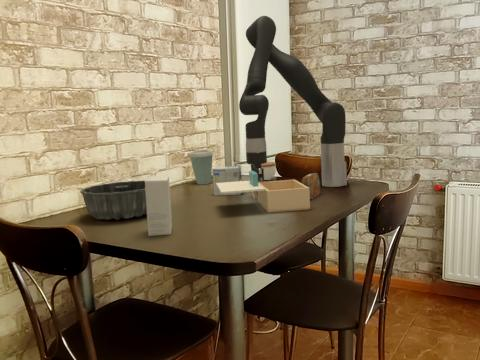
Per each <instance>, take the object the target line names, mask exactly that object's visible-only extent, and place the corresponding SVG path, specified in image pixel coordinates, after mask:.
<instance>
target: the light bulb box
mask: <svg viewBox="0 0 480 360" xmlns="http://www.w3.org/2000/svg"><path fill="white" fill-rule="evenodd" d="M241 169H242V167H241V165H231V166H227V165H226V166H214V167H212V181H213V182H212V184H213V196H215V197H216V196H240V195H241V194H242V193H243V192H240V193H227V194H221V192H220V191H219V189H218V187H217V185H216V183H223V182H236V181H243V180H242V171H241Z"/></svg>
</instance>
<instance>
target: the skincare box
mask: <svg viewBox="0 0 480 360" xmlns="http://www.w3.org/2000/svg"><path fill="white" fill-rule="evenodd" d="M144 181H145V192H146V207H147V215H146V219H147V233H148V236H149V237H150V236H151V237H153V236H167V235H169V236H170V235H171V234H172V230H173V222H172V220H173V219H172V206H171V205H172V204H171V202H172V201H171V190H170V189H171V188H170V187H171V186H170V176H169V174H165V175H150V176H149V175H148V176H147V177H146V178H145V180H144Z"/></svg>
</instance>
